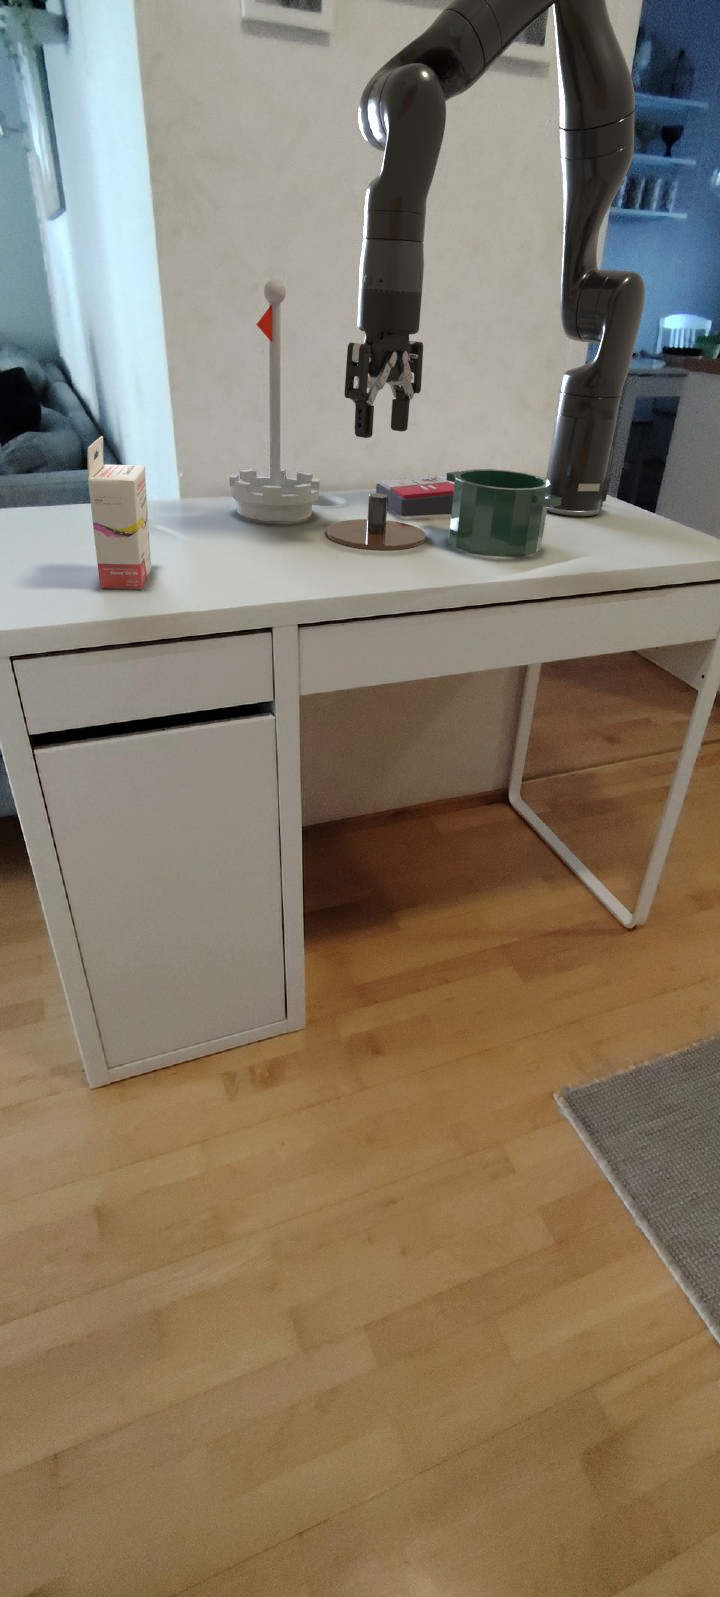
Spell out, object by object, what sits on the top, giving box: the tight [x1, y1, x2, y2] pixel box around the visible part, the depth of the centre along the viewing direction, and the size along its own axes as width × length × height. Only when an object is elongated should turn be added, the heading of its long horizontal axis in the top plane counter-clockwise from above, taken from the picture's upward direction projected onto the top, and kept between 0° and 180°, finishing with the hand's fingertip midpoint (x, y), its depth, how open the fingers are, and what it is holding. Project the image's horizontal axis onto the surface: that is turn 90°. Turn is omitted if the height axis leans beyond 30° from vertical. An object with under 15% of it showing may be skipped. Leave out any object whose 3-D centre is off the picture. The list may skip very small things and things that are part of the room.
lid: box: [326, 492, 427, 551], centre depth 115 cm, size 14×14×6 cm
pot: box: [446, 468, 561, 558], centre depth 114 cm, size 13×18×9 cm
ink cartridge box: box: [87, 435, 153, 590], centre depth 93 cm, size 9×5×15 cm, turn 5°
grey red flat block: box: [375, 475, 454, 517], centre depth 132 cm, size 11×4×15 cm
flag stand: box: [229, 278, 321, 522], centre depth 117 cm, size 13×13×30 cm
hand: (381, 433), depth 108 cm, fingers open, 8 cm apart
